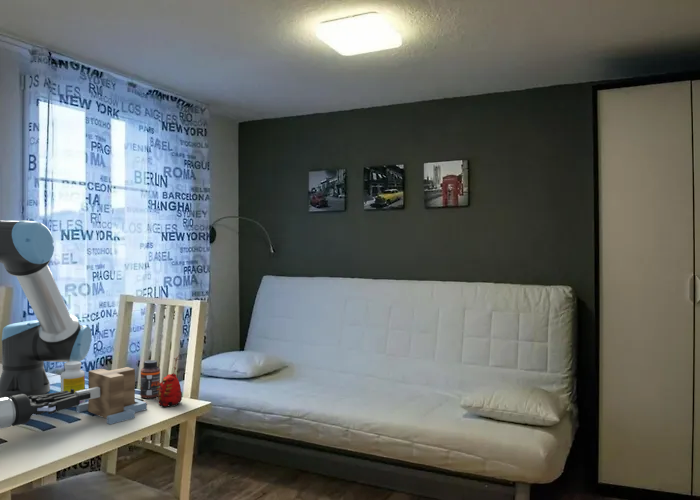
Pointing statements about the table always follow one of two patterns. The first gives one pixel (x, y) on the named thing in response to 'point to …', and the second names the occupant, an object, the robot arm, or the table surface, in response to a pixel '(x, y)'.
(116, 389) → the tee block
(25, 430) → the table surface
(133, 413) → the tee dock
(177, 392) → the red clay folk toy
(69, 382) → the supplement bottle
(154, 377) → the supplement bottle
